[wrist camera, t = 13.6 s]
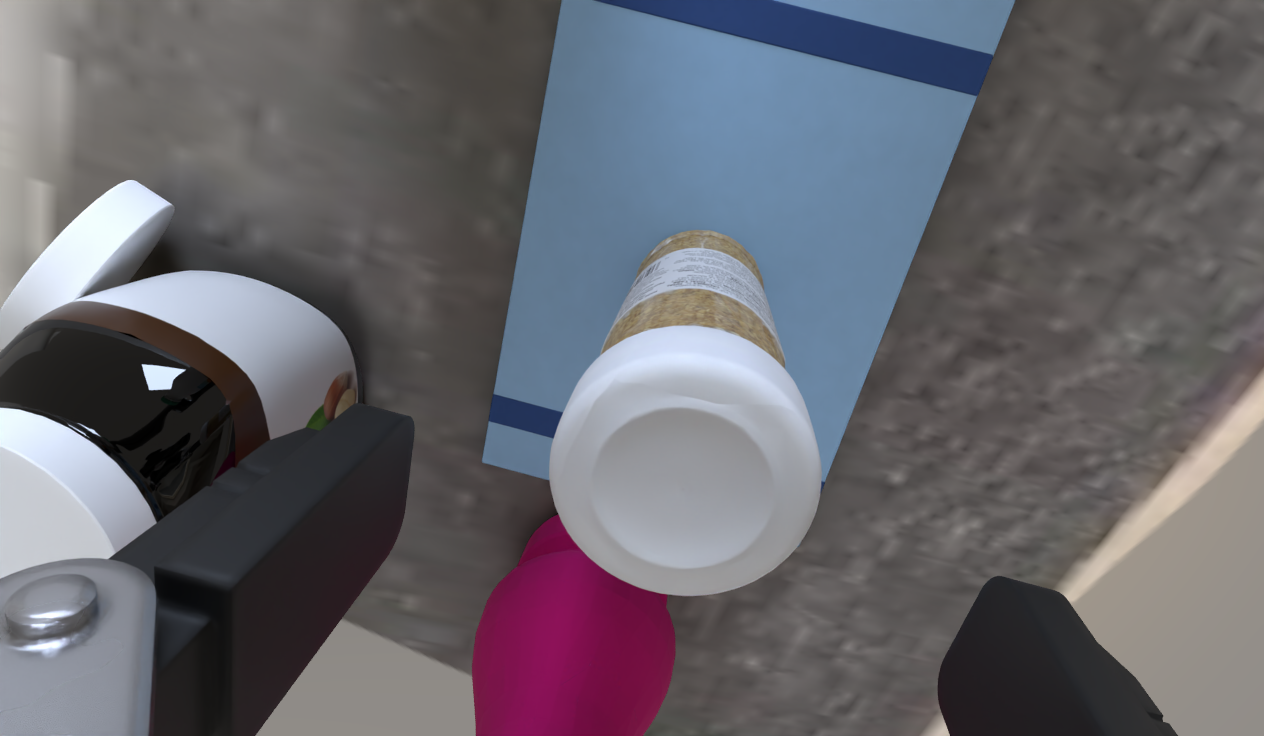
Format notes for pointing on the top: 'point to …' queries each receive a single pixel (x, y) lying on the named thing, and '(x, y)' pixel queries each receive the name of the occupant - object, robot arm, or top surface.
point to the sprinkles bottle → (688, 430)
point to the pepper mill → (569, 647)
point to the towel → (735, 179)
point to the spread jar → (143, 383)
